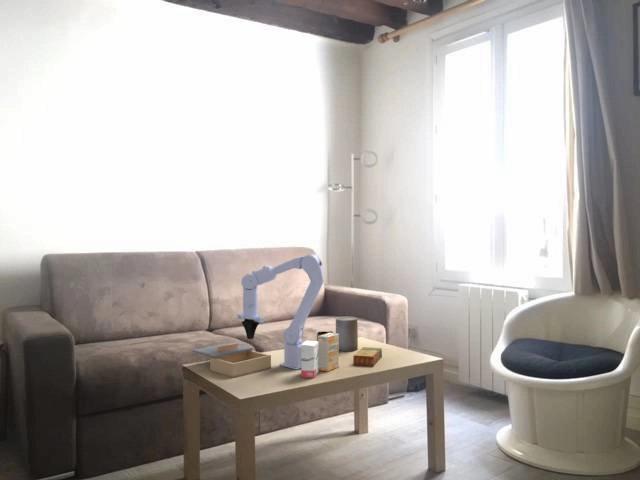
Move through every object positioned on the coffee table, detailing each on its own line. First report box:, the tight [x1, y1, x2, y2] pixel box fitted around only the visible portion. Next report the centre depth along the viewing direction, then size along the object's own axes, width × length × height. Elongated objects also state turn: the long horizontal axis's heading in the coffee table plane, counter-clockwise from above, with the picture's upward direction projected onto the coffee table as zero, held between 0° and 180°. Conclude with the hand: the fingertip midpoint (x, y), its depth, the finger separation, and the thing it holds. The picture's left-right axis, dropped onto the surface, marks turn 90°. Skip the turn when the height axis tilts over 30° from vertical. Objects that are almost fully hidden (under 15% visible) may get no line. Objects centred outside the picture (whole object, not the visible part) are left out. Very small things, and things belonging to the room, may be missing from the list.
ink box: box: [300, 339, 319, 379], centre depth 204 cm, size 9×5×12 cm, turn 168°
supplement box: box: [318, 332, 340, 372], centre depth 212 cm, size 8×5×13 cm, turn 148°
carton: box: [352, 346, 383, 367], centre depth 225 cm, size 8×16×4 cm, turn 162°
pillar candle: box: [335, 315, 359, 352], centre depth 246 cm, size 10×10×15 cm
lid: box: [192, 342, 254, 358], centre depth 219 cm, size 14×18×3 cm
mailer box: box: [209, 350, 272, 379], centre depth 211 cm, size 14×18×5 cm
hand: (250, 338), depth 219 cm, fingers closed
